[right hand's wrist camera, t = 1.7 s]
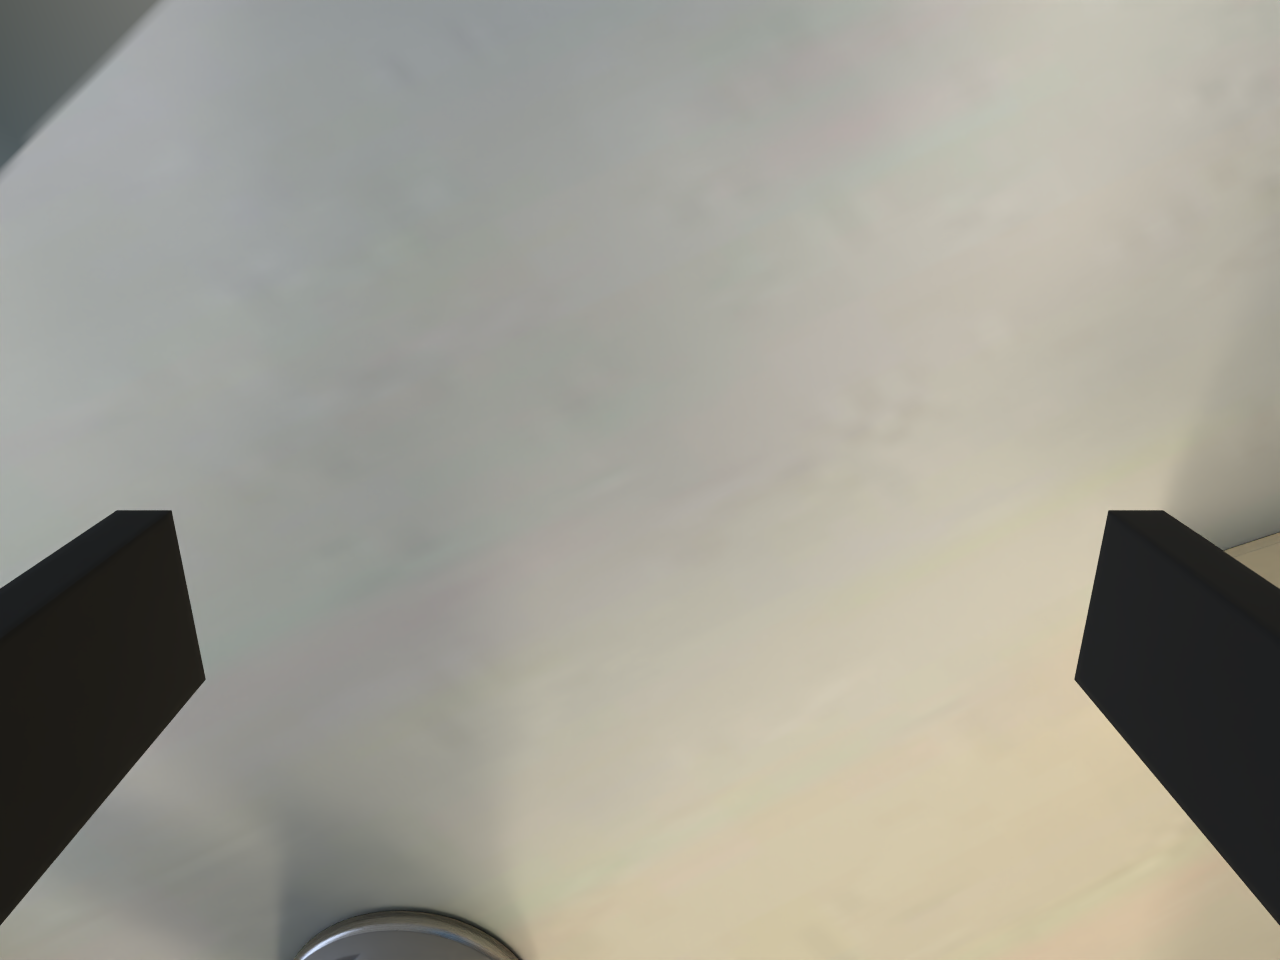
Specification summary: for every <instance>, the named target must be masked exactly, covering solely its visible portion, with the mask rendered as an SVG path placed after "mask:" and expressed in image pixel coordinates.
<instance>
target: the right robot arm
mask: <svg viewBox="0 0 1280 960" xmlns="http://www.w3.org/2000/svg"><path fill="white" fill-rule="evenodd" d="M205 680H206V679H205V674H204V669H203V664H202V659H201V654H200V649H199V644H198V639H197V634H196V629H195V625H194V620H193V615H192V610H191V605H190V600H189V595H188V590H187V585H186V580H185V575H184V570H183V565H182V560H181V555H180V550H179V545H178V540H177V535H176V530H175V525H174V520H173V515H172V510H117V511H115V512H114V513H112V514H111V515H109V516H108V517H106V518H105V519H103V520H102V521H100V522H99V523H97V524H96V525H94V526H93V527H91V528H90V529H88V530H87V531H86V532H84V533H83V534H81V535H80V536H78V537H77V538H75V539H74V540H72V541H71V542H69V543H68V544H66V545H65V546H63V547H62V548H60V549H59V550H57V551H56V552H54V553H53V554H51V555H50V556H48V557H47V558H45V559H44V560H42V561H41V562H39V563H38V564H36V565H35V566H33V567H32V568H30V569H29V570H27V571H26V572H24V573H23V574H21V575H20V576H18V577H17V578H15V579H14V580H13V581H11V582H10V583H8V584H7V585H5V586H4V587H2V588H1V589H0V925H1V924H2V923H3V921H4V920H5V919H6V918H7V917H8V915H9V914H10V913H11V912H12V911H13V909H14V908H15V907H16V906H17V905H18V904H19V902H20V901H21V900H22V899H23V898H24V896H25V895H26V894H27V893H28V892H29V890H30V889H31V888H32V887H33V886H34V884H35V883H36V882H37V881H38V880H39V878H40V877H41V876H42V875H43V874H44V872H45V871H46V870H47V869H48V868H49V866H50V865H51V864H52V863H53V862H54V860H55V859H56V858H57V857H58V856H59V854H60V853H61V852H62V851H63V850H64V848H65V847H66V846H67V845H68V844H69V842H70V841H71V840H72V839H73V838H74V836H75V835H76V834H77V833H78V832H79V830H80V829H81V828H82V827H83V826H84V824H85V823H86V822H87V821H88V820H89V818H90V817H91V816H92V815H93V814H94V812H95V811H96V810H97V809H98V808H99V807H100V805H101V804H102V803H103V802H104V801H105V799H106V798H107V797H108V796H109V795H110V793H111V792H112V791H113V790H114V789H115V787H116V786H117V785H118V784H119V783H120V781H121V780H122V779H123V778H124V777H125V775H126V774H127V773H128V772H129V771H130V769H131V768H132V767H133V766H134V765H135V763H136V762H137V761H138V760H139V759H140V757H141V756H142V755H143V754H144V753H145V751H146V750H147V749H148V748H149V747H150V745H151V744H152V743H153V742H154V741H155V739H156V738H157V737H158V736H159V735H160V733H161V732H162V731H163V730H164V729H165V727H166V726H167V725H168V724H169V723H170V721H171V720H172V719H173V718H174V717H175V715H176V714H177V713H178V712H179V711H180V710H181V708H182V707H183V706H184V705H185V704H186V702H187V701H188V700H189V699H190V698H191V696H192V695H193V694H194V693H195V692H196V690H197V689H198V688H199V687H200V686H201V684H202V683H203V682H204V681H205ZM1074 680H1075V681H1076V682H1077V683H1078V684H1079V686H1080V687H1081V688H1082V689H1083V690H1084V692H1085V693H1086V694H1087V695H1088V696H1089V698H1090V699H1091V700H1092V701H1093V702H1094V704H1095V705H1096V706H1097V707H1098V708H1099V710H1100V711H1101V712H1102V713H1103V714H1104V715H1105V717H1106V718H1107V719H1108V720H1109V721H1110V723H1111V724H1112V725H1113V726H1114V727H1115V729H1116V730H1117V731H1118V732H1119V733H1120V735H1121V736H1122V737H1123V738H1124V739H1125V741H1126V742H1127V743H1128V744H1129V745H1130V747H1131V748H1132V749H1133V750H1134V751H1135V753H1136V754H1137V755H1138V756H1139V757H1140V759H1141V760H1142V761H1143V762H1144V763H1145V765H1146V766H1147V767H1148V768H1149V769H1150V771H1151V772H1152V773H1153V774H1154V775H1155V777H1156V778H1157V779H1158V780H1159V781H1160V783H1161V784H1162V785H1163V786H1164V787H1165V789H1166V790H1167V791H1168V792H1169V793H1170V795H1171V796H1172V797H1173V798H1174V799H1175V801H1176V802H1177V803H1178V804H1179V805H1180V807H1181V808H1182V809H1183V810H1184V811H1185V812H1186V814H1187V815H1188V816H1189V817H1190V818H1191V820H1192V821H1193V822H1194V823H1195V824H1196V826H1197V827H1198V828H1199V829H1200V830H1201V832H1202V833H1203V834H1204V835H1205V836H1206V838H1207V839H1208V840H1209V841H1210V842H1211V844H1212V845H1213V846H1214V847H1215V848H1216V850H1217V851H1218V852H1219V853H1220V854H1221V856H1222V857H1223V858H1224V859H1225V860H1226V862H1227V863H1228V864H1229V865H1230V866H1231V868H1232V869H1233V870H1234V871H1235V872H1236V874H1237V875H1238V876H1239V877H1240V878H1241V880H1242V881H1243V882H1244V883H1245V884H1246V886H1247V887H1248V888H1249V889H1250V890H1251V892H1252V893H1253V894H1254V895H1255V896H1256V898H1257V899H1258V900H1259V901H1260V902H1261V904H1262V905H1263V906H1264V907H1265V908H1266V909H1267V911H1268V912H1269V913H1270V914H1271V915H1272V917H1273V918H1274V919H1275V920H1276V921H1277V923H1278V924H1279V925H1280V589H1279V588H1278V587H1276V586H1275V585H1273V584H1272V583H1270V582H1269V581H1267V580H1266V579H1265V578H1263V577H1262V576H1260V575H1259V574H1257V573H1256V572H1254V571H1253V570H1251V569H1250V568H1248V567H1247V566H1245V565H1244V564H1242V563H1241V562H1239V561H1238V560H1236V559H1235V558H1233V557H1232V556H1230V555H1229V554H1227V553H1226V552H1224V551H1223V550H1221V549H1220V548H1218V547H1217V546H1215V545H1214V544H1212V543H1211V542H1209V541H1208V540H1206V539H1205V538H1203V537H1202V536H1200V535H1199V534H1197V533H1196V532H1194V531H1193V530H1192V529H1190V528H1189V527H1187V526H1186V525H1184V524H1183V523H1181V522H1180V521H1178V520H1177V519H1175V518H1174V517H1172V516H1171V515H1169V514H1168V513H1166V512H1165V511H1163V510H1108V515H1107V520H1106V525H1105V530H1104V535H1103V540H1102V545H1101V550H1100V555H1099V560H1098V565H1097V570H1096V575H1095V580H1094V585H1093V590H1092V595H1091V600H1090V605H1089V610H1088V615H1087V620H1086V625H1085V629H1084V634H1083V639H1082V644H1081V649H1080V654H1079V659H1078V664H1077V669H1076V674H1075V679H1074ZM294 960H518V958H517V957H516V956H515V955H514V954H513V953H512V952H511V951H510V950H509V949H507V948H506V947H505V946H504V945H503V944H501V943H500V942H499V941H497V940H496V939H495V938H493V937H491V936H490V935H488V934H486V933H485V932H483V931H481V930H479V929H477V928H475V927H473V926H471V925H468V924H466V923H463V922H461V921H458V920H455V919H452V918H449V917H445V916H440V915H436V914H431V913H424V912H415V911H384V912H376V913H369V914H365V915H360V916H356V917H353V918H350V919H347V920H344V921H342V922H339V923H337V924H335V925H333V926H331V927H329V928H327V929H325V930H324V931H322V932H321V933H319V934H318V935H316V936H315V937H314V938H313V939H311V940H310V941H309V942H308V943H307V944H306V945H305V946H304V947H303V948H302V949H301V950H300V952H299V953H298V954H297V956H296V957H295V958H294Z"/></svg>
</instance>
